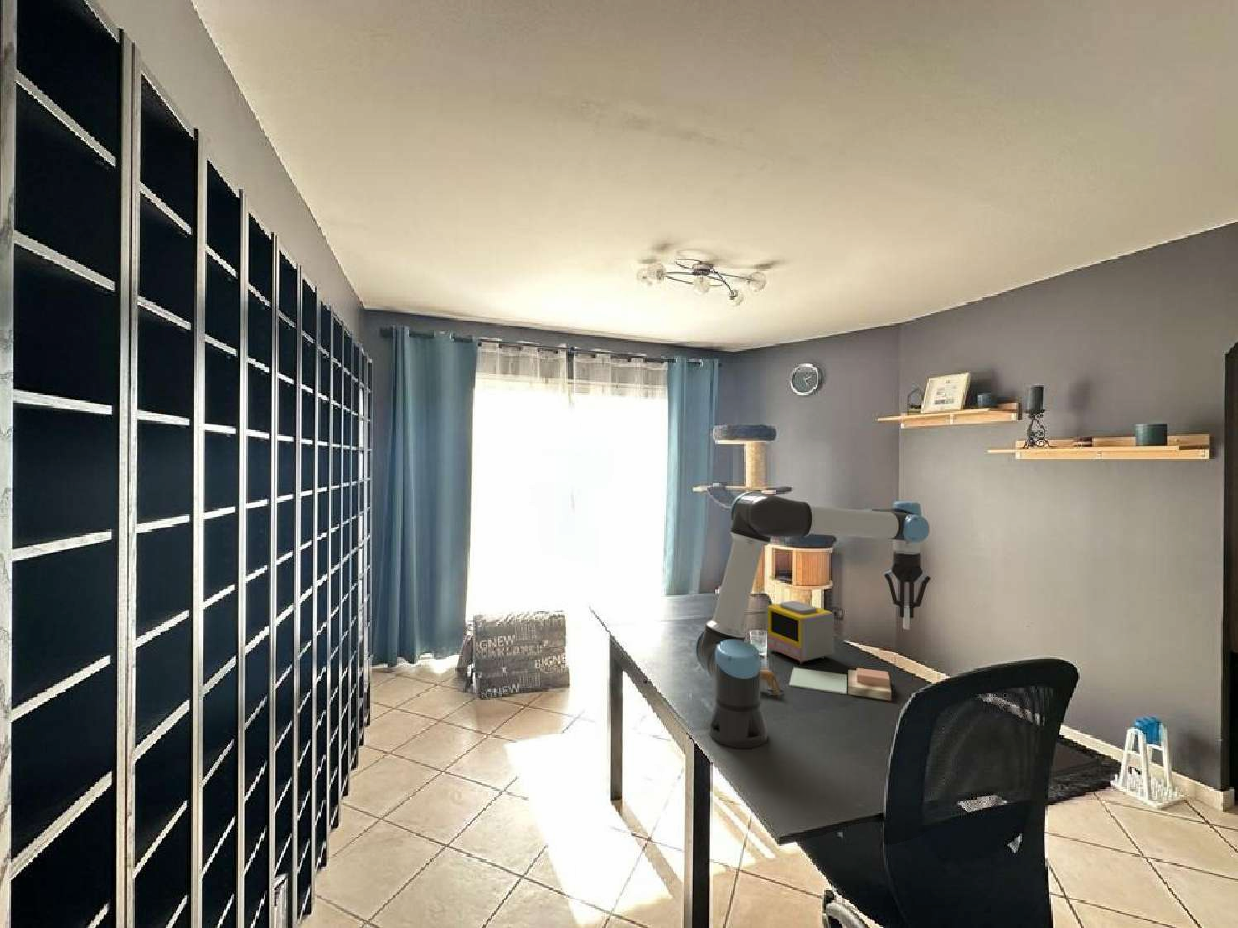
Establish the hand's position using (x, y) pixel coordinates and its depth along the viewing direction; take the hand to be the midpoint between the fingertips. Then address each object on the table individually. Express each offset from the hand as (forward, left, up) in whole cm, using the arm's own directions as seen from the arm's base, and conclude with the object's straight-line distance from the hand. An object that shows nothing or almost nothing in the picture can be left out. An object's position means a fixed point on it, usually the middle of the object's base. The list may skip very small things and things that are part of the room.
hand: (906, 627), depth 173 cm
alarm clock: (-34, +22, -21) cm, 45 cm away
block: (-10, 0, -18) cm, 20 cm away
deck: (-10, 0, -20) cm, 23 cm away
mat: (-26, 0, -20) cm, 33 cm away
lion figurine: (-43, -14, -21) cm, 50 cm away
